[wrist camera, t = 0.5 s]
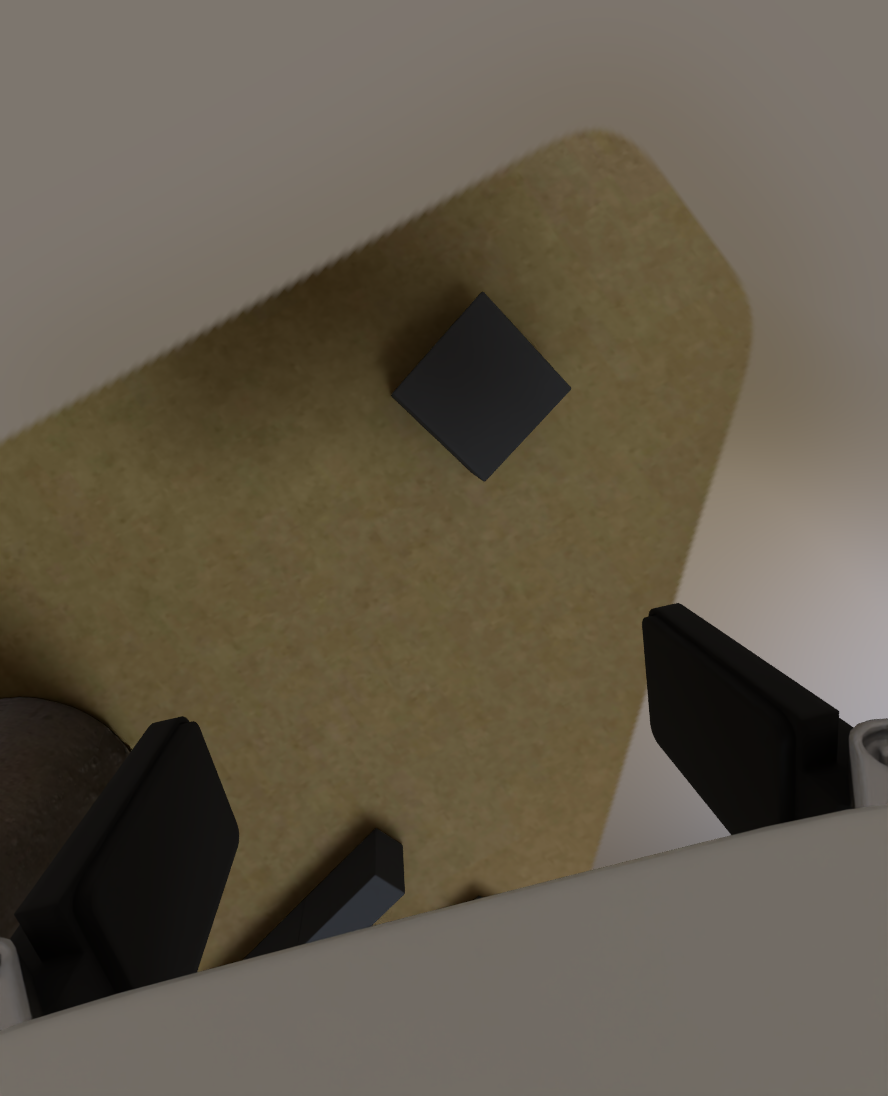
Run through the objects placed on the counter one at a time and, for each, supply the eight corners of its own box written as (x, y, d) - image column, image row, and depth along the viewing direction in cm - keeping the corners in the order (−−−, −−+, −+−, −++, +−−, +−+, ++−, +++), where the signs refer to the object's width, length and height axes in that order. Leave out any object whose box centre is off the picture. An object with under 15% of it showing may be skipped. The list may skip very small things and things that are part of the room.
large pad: (375, 827, 28) (375, 875, 25) (502, 909, 31) (514, 962, 28) (215, 986, 30) (197, 1049, 27) (348, 1052, 32) (345, 1115, 29)
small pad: (469, 306, 22) (482, 290, 19) (548, 391, 23) (572, 388, 20) (390, 395, 22) (391, 393, 19) (472, 473, 24) (484, 482, 21)
